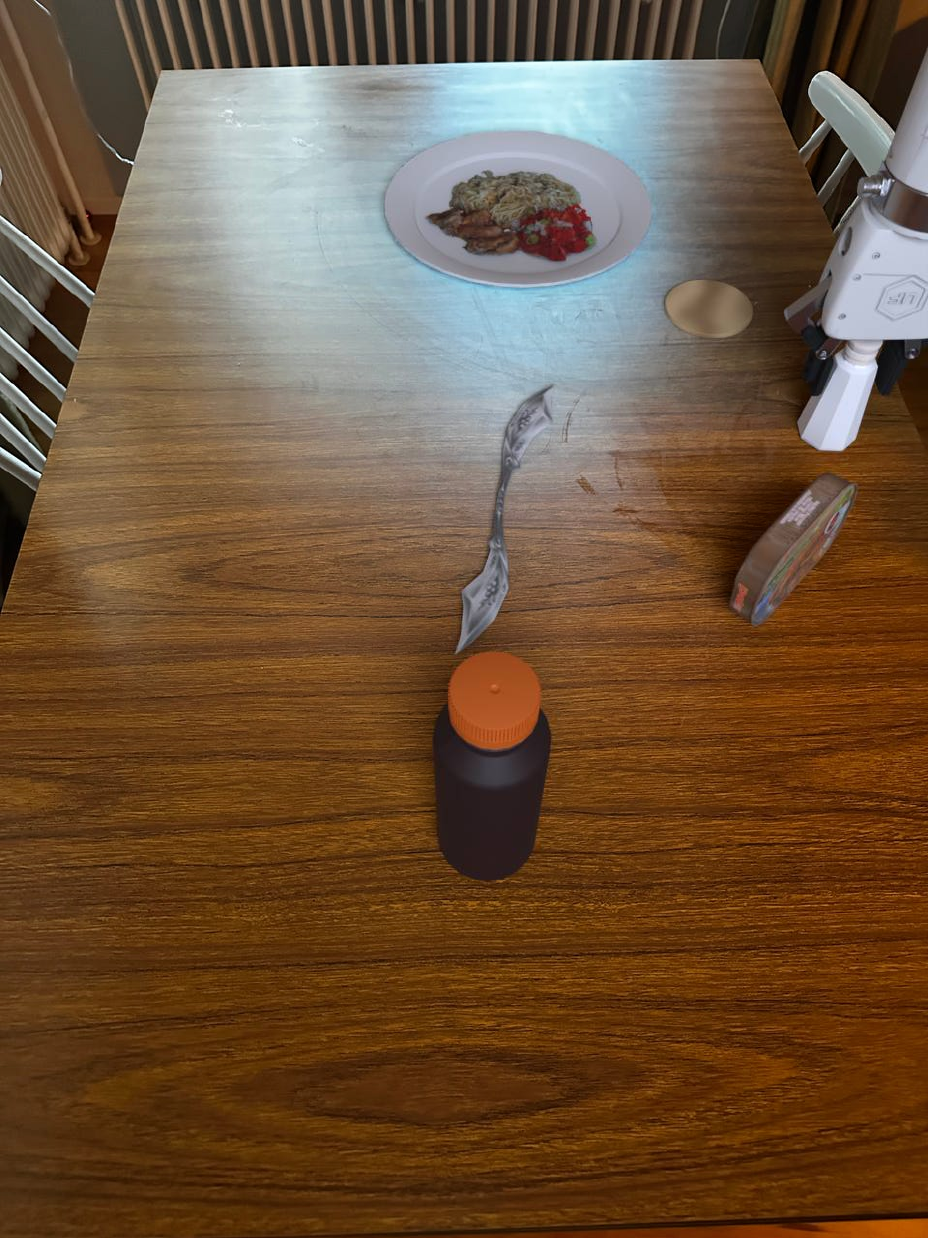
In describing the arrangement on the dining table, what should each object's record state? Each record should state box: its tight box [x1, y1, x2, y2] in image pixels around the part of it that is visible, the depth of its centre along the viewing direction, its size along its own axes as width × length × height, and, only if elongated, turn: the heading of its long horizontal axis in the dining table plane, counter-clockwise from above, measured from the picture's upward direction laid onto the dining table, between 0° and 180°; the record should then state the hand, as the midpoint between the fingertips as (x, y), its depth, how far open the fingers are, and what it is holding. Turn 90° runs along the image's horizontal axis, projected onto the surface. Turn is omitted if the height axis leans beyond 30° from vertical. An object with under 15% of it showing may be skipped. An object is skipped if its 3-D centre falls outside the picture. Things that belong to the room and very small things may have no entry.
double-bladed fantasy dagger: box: [454, 384, 556, 655], centre depth 83 cm, size 32×1×5 cm
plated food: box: [383, 130, 653, 289], centre depth 107 cm, size 30×30×3 cm
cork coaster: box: [664, 279, 754, 339], centre depth 99 cm, size 9×9×1 cm
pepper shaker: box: [797, 340, 884, 452], centre depth 84 cm, size 5×5×11 cm
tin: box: [727, 472, 859, 627], centre depth 76 cm, size 15×3×8 cm, turn 137°
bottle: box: [431, 650, 553, 882], centre depth 58 cm, size 7×7×20 cm
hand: (846, 383), depth 84 cm, fingers open, 5 cm apart
